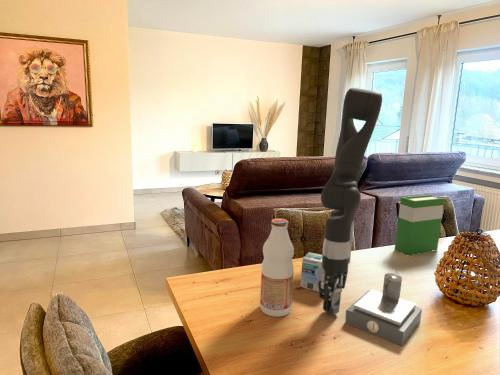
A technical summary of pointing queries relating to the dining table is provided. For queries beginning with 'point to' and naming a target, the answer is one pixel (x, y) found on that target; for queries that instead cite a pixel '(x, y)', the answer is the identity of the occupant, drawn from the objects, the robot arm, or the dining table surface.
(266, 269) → the fruit juice
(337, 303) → the cylinder
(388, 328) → the scale
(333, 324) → the dining table surface
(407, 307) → the platform
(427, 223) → the green cereal box
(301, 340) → the dining table surface
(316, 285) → the light bulb box
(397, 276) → the cylinder
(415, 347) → the dining table surface
